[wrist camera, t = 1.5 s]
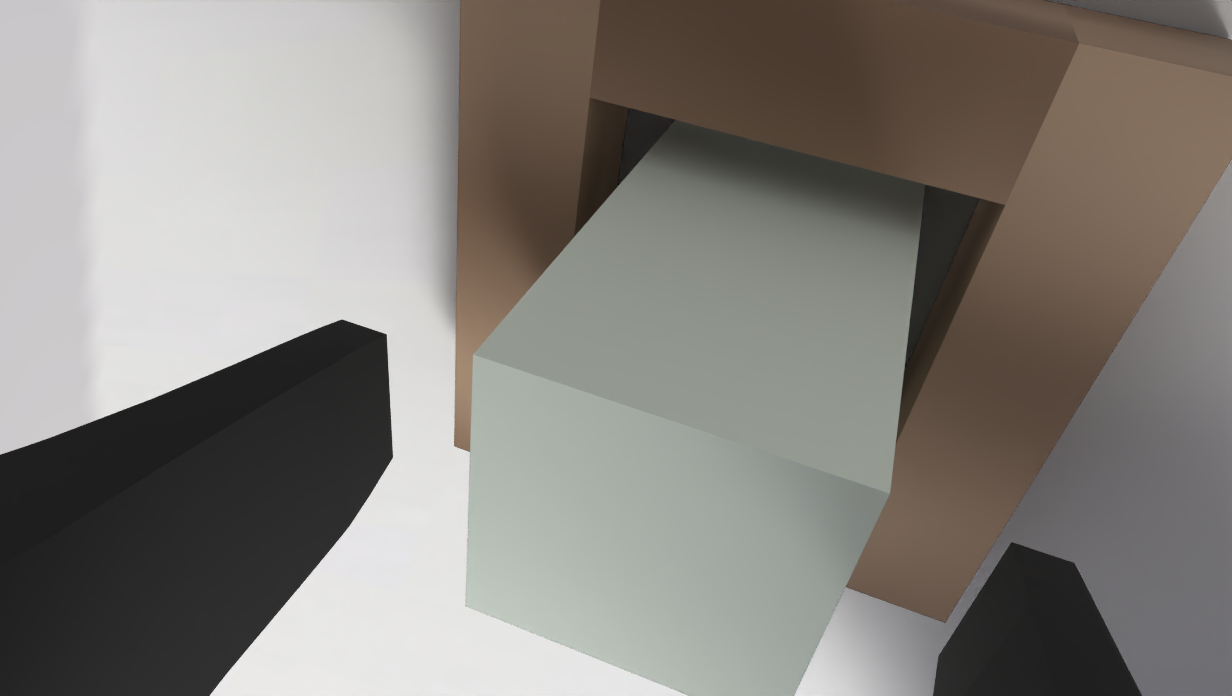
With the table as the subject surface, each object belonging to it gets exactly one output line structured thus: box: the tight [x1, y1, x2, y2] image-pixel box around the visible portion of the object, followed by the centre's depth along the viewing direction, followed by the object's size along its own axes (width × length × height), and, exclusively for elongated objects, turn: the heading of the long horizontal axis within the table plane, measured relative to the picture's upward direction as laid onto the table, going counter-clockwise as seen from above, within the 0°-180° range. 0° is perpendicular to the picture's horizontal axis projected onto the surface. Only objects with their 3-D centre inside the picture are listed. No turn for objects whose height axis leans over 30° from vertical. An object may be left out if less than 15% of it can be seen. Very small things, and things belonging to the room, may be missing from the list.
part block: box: [465, 120, 926, 696], centre depth 11 cm, size 4×4×7 cm
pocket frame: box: [454, 0, 1232, 623], centre depth 13 cm, size 10×10×2 cm
